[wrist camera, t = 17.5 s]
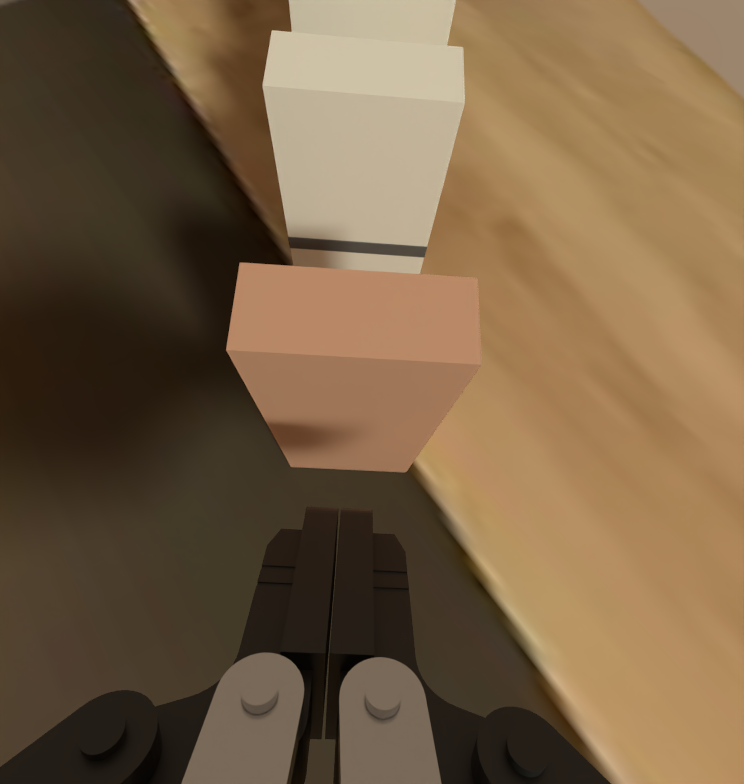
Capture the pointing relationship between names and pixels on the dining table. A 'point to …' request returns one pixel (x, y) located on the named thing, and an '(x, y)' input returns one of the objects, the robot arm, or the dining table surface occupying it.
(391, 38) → the domino
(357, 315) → the domino
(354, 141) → the domino
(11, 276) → the dining table surface
